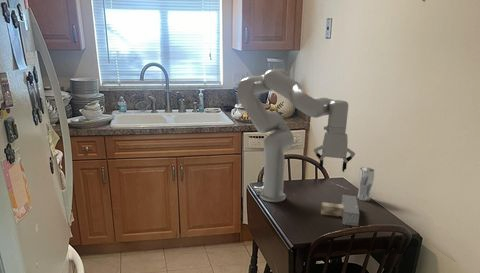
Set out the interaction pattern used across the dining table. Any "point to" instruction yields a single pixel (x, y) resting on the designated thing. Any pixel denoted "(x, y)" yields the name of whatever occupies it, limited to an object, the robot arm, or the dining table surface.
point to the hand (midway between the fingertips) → (332, 169)
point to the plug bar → (332, 209)
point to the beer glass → (365, 183)
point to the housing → (350, 210)
